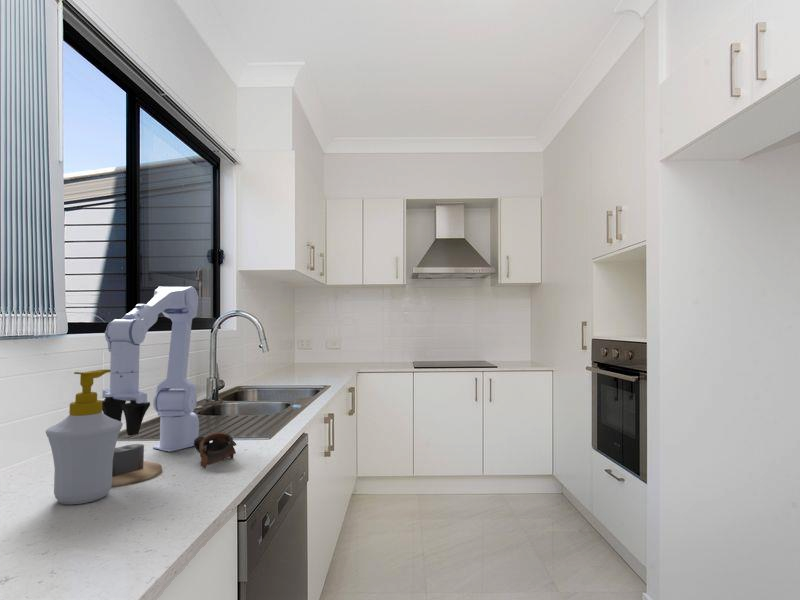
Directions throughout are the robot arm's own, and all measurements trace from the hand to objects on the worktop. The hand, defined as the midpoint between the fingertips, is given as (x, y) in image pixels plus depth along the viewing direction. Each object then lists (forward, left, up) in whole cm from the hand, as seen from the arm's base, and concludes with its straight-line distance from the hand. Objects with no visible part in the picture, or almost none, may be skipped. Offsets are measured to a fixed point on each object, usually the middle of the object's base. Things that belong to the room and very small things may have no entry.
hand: (123, 432), depth 110 cm
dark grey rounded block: (+1, 0, -9) cm, 9 cm away
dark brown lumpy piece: (-17, +9, -10) cm, 22 cm away
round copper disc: (0, 0, -9) cm, 9 cm away
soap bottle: (+12, +8, -10) cm, 17 cm away
